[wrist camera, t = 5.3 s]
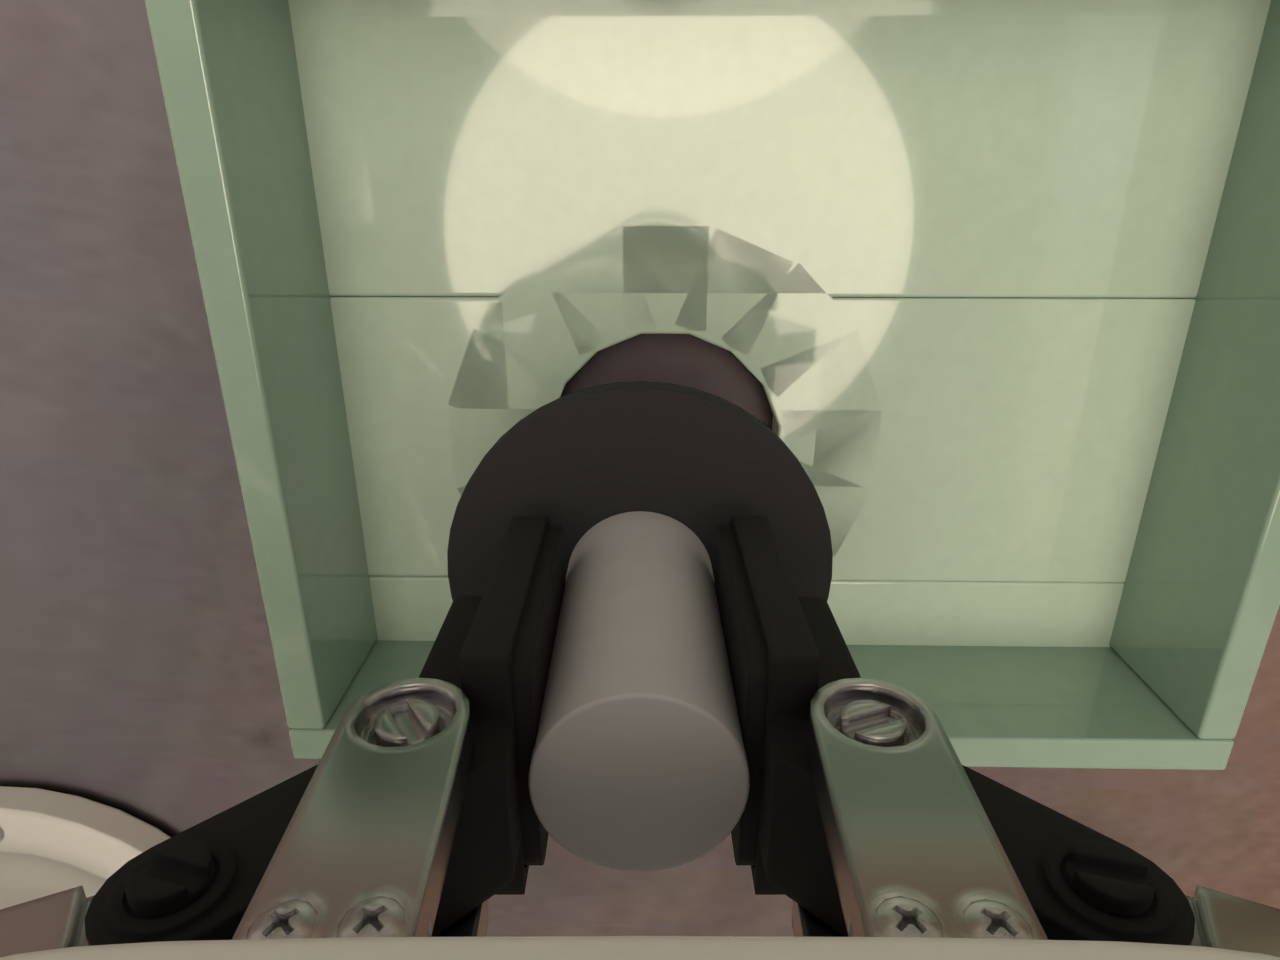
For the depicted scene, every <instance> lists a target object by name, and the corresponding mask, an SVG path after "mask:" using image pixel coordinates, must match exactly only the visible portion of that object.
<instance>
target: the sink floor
mask: <svg viewBox="0 0 1280 960" xmlns="http://www.w3.org/2000/svg"><path fill="white" fill-rule="evenodd" d="M1270 2H1271V0H288V3H289V10H290V17H291V24H292V31H293V39H294V46H295V53H296V60H297V67H298V74H299V81H300V88H301V96H302V103H303V110H304V117H305V124H306V131H307V138H308V145H309V153H310V160H311V167H312V174H313V181H314V188H315V195H316V202H317V210H318V217H319V224H320V231H321V238H322V245H323V252H324V259H325V266H326V274H327V281H328V288H329V294H330V296H331V298H330V302H331V309H332V316H333V323H334V331H335V338H336V345H337V352H338V359H339V366H340V373H341V380H342V388H343V395H344V402H345V409H346V416H347V423H348V430H349V437H350V445H351V452H352V459H353V466H354V473H355V480H356V487H357V494H358V502H359V509H360V516H361V523H362V530H363V537H364V544H365V551H366V559H367V566H368V573H369V576H370V587H371V594H372V601H373V608H374V616H375V623H376V630H377V637H378V638H377V640H399V641H435V640H436V638H437V636H438V633H439V631H440V629H441V627H442V625H443V622H444V620H445V618H446V616H447V613H448V611H449V609H450V607H451V605H452V602H453V600H452V597H451V591H450V585H449V579H448V561H447V550H448V543H449V535H450V528H451V525H452V521H453V518H454V514H455V511H456V507H457V505H458V502H459V500H460V498H461V496H462V493H463V491H464V489H465V487H466V485H467V483H468V481H469V479H470V478H471V476H472V474H473V473H474V471H475V470H476V468H477V467H478V465H479V464H480V462H481V460H482V459H483V457H484V456H485V455H486V453H487V452H488V451H489V450H490V449H491V448H492V446H493V445H494V444H495V443H496V442H497V441H498V440H499V438H500V437H501V436H503V435H504V434H505V433H506V432H507V431H508V430H509V429H511V428H512V427H513V426H514V425H515V424H516V423H517V422H519V421H520V420H521V419H523V418H524V417H526V416H528V415H529V414H531V413H532V412H534V411H535V410H537V409H538V408H540V407H542V406H544V405H546V404H548V403H550V402H552V401H554V400H556V399H558V398H560V397H561V395H562V392H563V390H564V387H565V385H566V383H567V382H568V381H569V380H570V379H571V378H572V377H573V376H574V375H575V374H576V373H577V372H578V371H579V370H580V369H581V368H582V367H583V366H584V365H585V364H586V363H587V362H588V361H589V360H590V359H591V358H592V357H593V356H594V355H595V354H596V353H597V352H598V351H601V350H603V349H606V348H608V347H610V346H613V345H615V344H618V343H620V342H623V341H625V340H627V339H630V338H632V337H635V336H637V335H640V334H689V335H692V336H694V337H697V338H699V339H701V340H704V341H706V342H708V343H711V344H713V345H716V346H718V347H720V348H723V349H725V350H727V351H730V352H732V353H733V355H734V356H735V357H736V358H737V359H738V360H739V361H740V362H741V363H742V364H743V365H744V366H745V367H746V368H747V369H748V370H749V371H750V372H751V373H752V374H753V375H754V376H755V377H756V378H757V379H758V380H759V381H760V382H761V384H762V387H763V390H764V393H765V395H766V398H767V401H768V403H769V406H770V409H771V412H772V414H773V422H772V431H773V432H774V433H775V434H776V435H777V436H778V437H779V438H781V440H782V441H783V442H784V443H785V444H786V445H787V447H788V448H789V449H790V450H791V451H792V453H793V454H794V455H795V456H796V457H797V459H798V460H799V462H800V464H801V465H802V467H803V468H804V470H805V472H806V473H807V475H808V476H809V478H810V480H811V481H812V483H813V485H814V487H815V489H816V491H817V494H818V496H819V498H820V501H821V503H822V505H823V507H824V511H825V514H826V518H827V522H828V525H829V529H830V535H831V543H832V552H833V561H832V580H831V585H830V591H829V597H828V601H827V603H828V605H829V607H830V609H831V612H832V614H833V616H834V618H835V621H836V623H837V625H838V627H839V629H840V632H841V634H842V636H843V638H844V641H845V643H846V645H927V646H1033V647H1110V645H1109V643H1110V639H1111V635H1112V631H1113V627H1114V623H1115V619H1116V615H1117V611H1118V607H1119V603H1120V599H1121V595H1122V591H1123V587H1124V584H1123V582H1125V579H1126V575H1127V571H1128V567H1129V563H1130V559H1131V555H1132V551H1133V547H1134V543H1135V539H1136V535H1137V531H1138V527H1139V523H1140V519H1141V515H1142V511H1143V508H1144V504H1145V500H1146V496H1147V492H1148V488H1149V484H1150V480H1151V476H1152V472H1153V468H1154V464H1155V460H1156V456H1157V452H1158V448H1159V444H1160V440H1161V436H1162V432H1163V428H1164V424H1165V420H1166V416H1167V412H1168V408H1169V404H1170V400H1171V396H1172V392H1173V388H1174V384H1175V380H1176V376H1177V372H1178V368H1179V364H1180V360H1181V356H1182V352H1183V348H1184V344H1185V340H1186V337H1187V333H1188V329H1189V325H1190V321H1191V317H1192V313H1193V309H1194V305H1195V299H1194V298H1195V297H1196V295H1197V293H1198V289H1199V285H1200V281H1201V277H1202V273H1203V269H1204V265H1205V261H1206V257H1207V253H1208V249H1209V245H1210V241H1211V237H1212V233H1213V229H1214V225H1215V221H1216V217H1217V213H1218V209H1219V205H1220V201H1221V197H1222V193H1223V189H1224V185H1225V181H1226V177H1227V173H1228V169H1229V166H1230V162H1231V158H1232V154H1233V150H1234V146H1235V142H1236V138H1237V134H1238V130H1239V126H1240V122H1241V118H1242V114H1243V110H1244V106H1245V102H1246V98H1247V94H1248V90H1249V86H1250V82H1251V78H1252V74H1253V70H1254V66H1255V62H1256V58H1257V54H1258V50H1259V46H1260V42H1261V38H1262V34H1263V30H1264V26H1265V22H1266V18H1267V14H1268V10H1269V6H1270Z"/></svg>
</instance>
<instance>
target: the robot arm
mask: <svg viewBox="0 0 1280 960" xmlns="http://www.w3.org/2000/svg"><path fill="white" fill-rule="evenodd" d="M714 585H715V590H716V596H717V601H718V606H719V612H720V617H721V623H722V628H723V634H724V639H725V645H726V650H727V655H728V661H729V666H730V672H731V677H732V683H733V688H734V694H735V699H736V704H737V710H738V715H739V721H740V726H741V732H742V737H743V743H744V748H745V751H746V756H747V762H748V767H749V773H750V789H749V796H748V800H747V803H746V806H745V809H744V811H743V813H742V815H741V817H740V819H739V821H738V823H737V824H736V826H735V827H734V829H733V830H732V831H731V835H732V842H733V849H734V856H735V862H736V865H751V869H752V876H753V882H754V888H755V894H785V895H787V896H788V897H790V898H791V899H792V900H793V905H792V926H793V932H794V937H772V936H509V937H486V932H487V926H488V905H487V899H489V898H490V897H491V896H493V895H494V894H524V893H525V886H526V880H527V874H528V868H529V865H543V864H544V860H545V854H546V847H547V840H548V832H547V831H546V829H545V828H544V826H543V825H542V824H541V822H540V821H539V819H538V817H537V815H536V812H535V810H534V808H533V805H532V802H531V798H530V794H529V787H528V775H529V768H530V763H531V758H532V753H533V749H534V747H535V742H536V737H537V731H538V726H539V721H540V715H541V710H542V705H543V700H544V694H545V689H546V684H547V678H548V673H549V668H550V662H551V657H552V652H553V647H554V641H555V636H556V631H557V625H558V620H559V615H560V609H561V604H562V599H563V594H564V588H565V560H564V534H563V526H562V525H551V524H550V518H549V516H513V518H512V520H511V523H510V525H509V528H508V531H507V533H506V536H505V538H504V541H503V544H502V546H501V549H500V551H499V554H498V557H497V559H496V562H495V564H494V567H493V570H492V572H491V575H490V577H489V580H488V583H487V585H486V588H485V590H484V593H483V596H456V597H455V599H454V600H453V602H452V605H451V607H450V609H449V611H448V613H447V616H446V618H445V620H444V622H443V625H442V627H441V629H440V631H439V633H438V636H437V638H436V640H435V642H434V644H433V647H432V649H431V651H430V653H429V656H428V658H427V660H426V662H425V664H424V667H423V669H422V671H421V673H420V676H419V678H414V679H405V680H399V681H395V682H392V683H388V684H385V685H382V686H380V687H377V688H375V689H373V690H371V691H369V692H367V693H365V694H364V695H362V696H361V697H360V698H359V699H357V700H356V701H355V702H353V703H352V704H351V705H350V706H349V708H348V709H347V710H346V712H345V713H344V714H343V716H342V718H341V720H340V722H339V724H338V726H337V728H336V730H335V732H334V734H333V736H332V738H331V740H330V742H329V744H328V746H327V748H326V750H325V752H324V754H323V756H322V758H321V760H320V762H319V764H318V765H316V766H314V767H312V768H310V769H308V770H306V771H304V772H302V773H300V774H298V775H296V776H294V777H292V778H290V779H288V780H286V781H284V782H282V783H280V784H278V785H276V786H274V787H272V788H270V789H268V790H266V791H264V792H262V793H260V794H258V795H256V796H254V797H252V798H250V799H248V800H246V801H244V802H242V803H240V804H238V805H236V806H234V807H232V808H230V809H228V810H226V811H224V812H221V813H219V814H217V815H215V816H213V817H211V818H209V819H207V820H205V821H203V822H201V823H199V824H197V825H195V826H193V827H191V828H189V829H187V830H185V831H183V832H181V833H179V834H177V835H175V836H173V837H170V836H168V835H167V834H165V833H164V832H163V831H161V830H160V829H158V828H156V827H154V826H152V825H150V824H148V823H146V822H144V821H142V820H140V819H138V818H136V817H134V816H132V815H130V814H128V813H126V812H124V811H122V810H119V809H116V808H114V807H111V806H108V805H105V804H102V803H99V802H96V801H93V800H90V799H87V798H84V797H81V796H76V795H71V794H66V793H61V792H56V791H51V790H45V789H40V788H26V787H6V786H0V960H1280V909H1276V908H1273V907H1269V906H1266V905H1263V904H1259V903H1256V902H1253V901H1249V900H1246V899H1242V898H1239V897H1236V896H1232V895H1229V894H1225V893H1222V892H1219V891H1215V890H1212V889H1209V888H1205V887H1202V886H1198V885H1197V888H1196V891H1195V894H1194V897H1193V898H1192V897H1189V896H1186V895H1184V893H1183V892H1182V891H1181V889H1180V888H1179V887H1178V886H1177V884H1176V883H1175V882H1174V880H1173V879H1172V878H1171V877H1169V876H1168V875H1167V874H1166V873H1165V872H1164V871H1162V870H1161V869H1160V868H1159V867H1158V866H1157V865H1156V864H1154V863H1153V862H1152V861H1150V860H1149V859H1147V858H1145V857H1144V856H1142V855H1140V854H1139V853H1137V852H1135V851H1134V850H1132V849H1130V848H1129V847H1127V846H1125V845H1123V844H1121V843H1119V842H1117V841H1115V840H1113V839H1111V838H1109V837H1107V836H1105V835H1103V834H1101V833H1098V832H1096V831H1094V830H1092V829H1090V828H1088V827H1086V826H1084V825H1082V824H1080V823H1078V822H1076V821H1074V820H1072V819H1070V818H1068V817H1066V816H1064V815H1062V814H1060V813H1058V812H1056V811H1054V810H1052V809H1050V808H1048V807H1046V806H1044V805H1042V804H1040V803H1038V802H1036V801H1034V800H1032V799H1030V798H1028V797H1026V796H1024V795H1022V794H1020V793H1018V792H1016V791H1014V790H1012V789H1010V788H1008V787H1006V786H1004V785H1002V784H1000V783H998V782H996V781H994V780H992V779H990V778H988V777H986V776H984V775H982V774H980V773H978V772H976V771H974V770H972V769H970V768H968V767H966V766H964V765H962V764H961V762H960V760H959V758H958V756H957V754H956V752H955V750H954V748H953V746H952V744H951V742H950V740H949V738H948V736H947V734H946V732H945V730H944V728H943V726H942V724H941V722H940V720H939V718H938V716H937V714H936V713H935V712H934V710H933V709H932V708H931V706H930V705H929V704H928V703H927V702H925V701H924V700H923V699H921V698H920V697H919V696H918V695H916V694H915V693H913V692H911V691H909V690H907V689H905V688H903V687H900V686H898V685H895V684H892V683H888V682H885V681H881V680H875V679H866V678H861V676H860V674H859V672H858V669H857V667H856V665H855V663H854V661H853V658H852V656H851V654H850V652H849V649H848V647H847V645H846V643H845V641H844V638H843V636H842V634H841V632H840V629H839V627H838V625H837V623H836V621H835V618H834V616H833V614H832V612H831V609H830V607H829V605H828V603H827V601H826V599H825V598H824V596H797V594H796V591H795V588H794V586H793V583H792V581H791V578H790V575H789V573H788V570H787V568H786V565H785V562H784V560H783V557H782V555H781V552H780V549H779V547H778V544H777V542H776V539H775V536H774V534H773V531H772V529H771V526H770V523H769V521H768V518H767V516H731V517H730V522H729V525H717V531H716V555H715V582H714Z"/></svg>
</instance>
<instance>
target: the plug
mask: <svg viewBox="0 0 1280 960" xmlns="http://www.w3.org/2000/svg"><path fill="white" fill-rule="evenodd" d="M513 516H549V518H550V524H551V525H562V526H563V534H564V560H565V588H564V594H563V599H562V604H561V609H560V615H559V620H558V625H557V631H556V636H555V641H554V647H553V652H552V657H551V662H550V668H549V673H548V678H547V684H546V689H545V694H544V700H543V705H542V710H541V715H540V721H539V726H538V731H537V737H536V742H535V747H534V749H533V753H532V758H531V763H530V768H529V775H528V787H529V794H530V798H531V802H532V805H533V808H534V810H535V812H536V815H537V817H538V819H539V821H540V822H541V824H542V825H543V826H544V828H545V829H546V831H547V832H548V833H549V834H550V835H551V836H552V837H553V839H554V840H556V841H557V842H558V843H559V844H560V845H561V846H563V847H564V848H565V849H567V850H568V851H570V852H571V853H573V854H574V855H576V856H578V857H580V858H582V859H584V860H586V861H589V862H591V863H594V864H597V865H600V866H603V867H607V868H611V869H617V870H624V871H655V870H662V869H667V868H671V867H675V866H679V865H682V864H685V863H687V862H690V861H692V860H694V859H696V858H698V857H700V856H702V855H704V854H706V853H707V852H709V851H710V850H712V849H713V848H715V847H716V846H717V845H718V844H719V843H721V842H722V841H723V840H724V839H725V838H726V837H727V836H728V835H729V834H730V832H731V831H732V830H733V829H734V827H735V826H736V824H737V823H738V821H739V819H740V817H741V815H742V813H743V811H744V809H745V806H746V803H747V800H748V796H749V789H750V773H749V767H748V762H747V756H746V751H745V748H744V743H743V737H742V732H741V726H740V721H739V715H738V710H737V704H736V699H735V694H734V688H733V683H732V677H731V672H730V666H729V661H728V655H727V650H726V645H725V639H724V634H723V628H722V623H721V617H720V612H719V606H718V601H717V596H716V590H715V585H714V582H715V555H716V531H717V525H729V522H730V517H731V516H767V518H768V521H769V523H770V526H771V529H772V531H773V534H774V536H775V539H776V542H777V544H778V547H779V549H780V552H781V555H782V557H783V560H784V562H785V565H786V568H787V570H788V573H789V575H790V578H791V581H792V583H793V586H794V588H795V591H796V594H797V596H824V598H825V599H826V601H828V597H829V591H830V585H831V580H832V561H833V552H832V543H831V535H830V529H829V525H828V522H827V518H826V514H825V511H824V507H823V505H822V503H821V501H820V498H819V496H818V494H817V491H816V489H815V487H814V485H813V483H812V481H811V480H810V478H809V476H808V475H807V473H806V472H805V470H804V468H803V467H802V465H801V464H800V462H799V460H798V459H797V457H796V456H795V455H794V454H793V453H792V451H791V450H790V449H789V448H788V447H787V445H786V444H785V443H784V442H783V441H782V440H781V438H779V437H778V436H777V435H776V434H775V433H774V432H773V431H772V430H770V429H769V428H768V427H767V426H766V425H765V424H764V423H763V422H761V421H760V420H758V419H757V418H755V417H754V416H752V415H751V414H749V413H748V412H746V411H745V410H743V409H742V408H740V407H738V406H736V405H734V404H732V403H730V402H728V401H726V400H724V399H722V398H720V397H718V396H715V395H712V394H709V393H706V392H703V391H700V390H697V389H694V388H689V387H684V386H679V385H674V384H669V383H658V382H644V381H637V382H621V383H611V384H606V385H600V386H595V387H590V388H586V389H583V390H580V391H577V392H574V393H571V394H568V395H565V396H562V397H560V398H558V399H556V400H554V401H552V402H550V403H548V404H546V405H544V406H542V407H540V408H538V409H537V410H535V411H534V412H532V413H531V414H529V415H528V416H526V417H524V418H523V419H521V420H520V421H519V422H517V423H516V424H515V425H514V426H513V427H512V428H511V429H509V430H508V431H507V432H506V433H505V434H504V435H503V436H501V437H500V438H499V440H498V441H497V442H496V443H495V444H494V445H493V446H492V448H491V449H490V450H489V451H488V452H487V453H486V455H485V456H484V457H483V459H482V460H481V462H480V464H479V465H478V467H477V468H476V470H475V471H474V473H473V474H472V476H471V478H470V479H469V481H468V483H467V485H466V487H465V489H464V491H463V493H462V496H461V498H460V500H459V502H458V505H457V507H456V511H455V514H454V518H453V521H452V525H451V528H450V535H449V543H448V550H447V561H448V579H449V585H450V591H451V597H452V600H454V599H455V597H456V596H483V593H484V590H485V588H486V585H487V583H488V580H489V577H490V575H491V572H492V570H493V567H494V564H495V562H496V559H497V557H498V554H499V551H500V549H501V546H502V544H503V541H504V538H505V536H506V533H507V531H508V528H509V525H510V523H511V520H512V518H513Z"/></svg>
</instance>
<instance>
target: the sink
mask: <svg viewBox="0 0 1280 960" xmlns="http://www.w3.org/2000/svg"><path fill="white" fill-rule="evenodd" d="M144 1H145V6H146V11H147V16H148V21H149V26H150V31H151V36H152V41H153V47H154V52H155V57H156V62H157V67H158V72H159V77H160V82H161V87H162V92H163V97H164V102H165V107H166V112H167V117H168V122H169V127H170V133H171V138H172V143H173V148H174V153H175V158H176V163H177V168H178V173H179V178H180V183H181V188H182V193H183V198H184V203H185V208H186V213H187V218H188V224H189V229H190V234H191V239H192V244H193V249H194V254H195V259H196V264H197V269H198V274H199V279H200V284H201V289H202V294H203V299H204V304H205V310H206V315H207V320H208V325H209V330H210V335H211V340H212V345H213V350H214V355H215V360H216V365H217V370H218V375H219V380H220V385H221V390H222V396H223V401H224V406H225V411H226V416H227V421H228V426H229V431H230V436H231V441H232V446H233V451H234V456H235V461H236V466H237V471H238V476H239V482H240V487H241V492H242V497H243V502H244V507H245V512H246V517H247V522H248V527H249V532H250V537H251V542H252V547H253V552H254V557H255V562H256V567H257V573H258V578H259V583H260V588H261V593H262V598H263V603H264V608H265V613H266V618H267V623H268V628H269V633H270V638H271V643H272V648H273V653H274V659H275V664H276V669H277V674H278V679H279V684H280V689H281V694H282V699H283V704H284V709H285V714H286V719H287V724H288V727H289V728H290V730H289V735H290V740H291V745H292V750H293V755H294V758H295V759H321V758H322V756H323V754H324V752H325V750H326V748H327V746H328V744H329V742H330V740H331V738H332V736H333V734H334V732H335V730H336V728H337V726H338V724H339V722H340V720H341V718H342V716H343V714H344V713H345V712H346V710H347V709H348V708H349V706H350V705H351V704H352V703H353V702H355V701H356V700H357V699H359V698H360V697H361V696H362V695H364V694H365V693H367V692H369V691H371V690H373V689H375V688H377V687H380V686H382V685H385V684H388V683H392V682H395V681H399V680H405V679H414V678H419V676H420V673H421V671H422V669H423V667H424V664H425V662H426V660H427V658H428V656H429V653H430V651H431V649H432V647H433V644H434V642H435V641H399V640H377V638H378V637H377V630H376V623H375V616H374V608H373V601H372V594H371V587H370V576H369V573H368V566H367V559H366V551H365V544H364V537H363V530H362V523H361V516H360V509H359V502H358V494H357V487H356V480H355V473H354V466H353V459H352V452H351V445H350V437H349V430H348V423H347V416H346V409H345V402H344V395H343V388H342V380H341V373H340V366H339V359H338V352H337V345H336V338H335V331H334V323H333V316H332V309H331V302H330V298H331V296H330V294H329V288H328V281H327V274H326V266H325V259H324V252H323V245H322V238H321V231H320V224H319V217H318V210H317V202H316V195H315V188H314V181H313V174H312V167H311V160H310V153H309V145H308V138H307V131H306V124H305V117H304V110H303V103H302V96H301V88H300V81H299V74H298V67H297V60H296V53H295V46H294V39H293V31H292V24H291V17H290V10H289V3H288V0H144ZM1194 299H1195V305H1194V309H1193V313H1192V317H1191V321H1190V325H1189V329H1188V333H1187V337H1186V340H1185V344H1184V348H1183V352H1182V356H1181V360H1180V364H1179V368H1178V372H1177V376H1176V380H1175V384H1174V388H1173V392H1172V396H1171V400H1170V404H1169V408H1168V412H1167V416H1166V420H1165V424H1164V428H1163V432H1162V436H1161V440H1160V444H1159V448H1158V452H1157V456H1156V460H1155V464H1154V468H1153V472H1152V476H1151V480H1150V484H1149V488H1148V492H1147V496H1146V500H1145V504H1144V508H1143V511H1142V515H1141V519H1140V523H1139V527H1138V531H1137V535H1136V539H1135V543H1134V547H1133V551H1132V555H1131V559H1130V563H1129V567H1128V571H1127V575H1126V579H1125V582H1123V584H1124V587H1123V591H1122V595H1121V599H1120V603H1119V607H1118V611H1117V615H1116V619H1115V623H1114V627H1113V631H1112V635H1111V639H1110V643H1109V645H1110V647H1033V646H927V645H847V647H848V649H849V652H850V654H851V656H852V658H853V661H854V663H855V665H856V667H857V669H858V672H859V674H860V676H861V678H866V679H875V680H881V681H885V682H888V683H892V684H895V685H898V686H900V687H903V688H905V689H907V690H909V691H911V692H913V693H915V694H916V695H918V696H919V697H920V698H921V699H923V700H924V701H925V702H927V703H928V704H929V705H930V706H931V708H932V709H933V710H934V712H935V713H936V714H937V716H938V718H939V720H940V722H941V724H942V726H943V728H944V730H945V732H946V734H947V736H948V738H949V740H950V742H951V744H952V746H953V748H954V750H955V752H956V754H957V756H958V758H959V760H960V762H961V764H962V765H964V766H966V767H998V768H1082V769H1166V770H1224V769H1225V768H1226V766H1227V763H1228V760H1229V757H1230V754H1231V751H1232V748H1233V745H1234V741H1233V739H1234V738H1235V737H1236V735H1237V732H1238V729H1239V726H1240V723H1241V720H1242V717H1243V714H1244V711H1245V708H1246V705H1247V702H1248V699H1249V696H1250V693H1251V690H1252V687H1253V684H1254V681H1255V678H1256V675H1257V672H1258V669H1259V666H1260V663H1261V660H1262V657H1263V654H1264V651H1265V648H1266V645H1267V643H1268V640H1269V637H1270V634H1271V631H1272V628H1273V625H1274V622H1275V619H1276V616H1277V613H1278V610H1279V607H1280V0H1271V2H1270V6H1269V10H1268V14H1267V18H1266V22H1265V26H1264V30H1263V34H1262V38H1261V42H1260V46H1259V50H1258V54H1257V58H1256V62H1255V66H1254V70H1253V74H1252V78H1251V82H1250V86H1249V90H1248V94H1247V98H1246V102H1245V106H1244V110H1243V114H1242V118H1241V122H1240V126H1239V130H1238V134H1237V138H1236V142H1235V146H1234V150H1233V154H1232V158H1231V162H1230V166H1229V169H1228V173H1227V177H1226V181H1225V185H1224V189H1223V193H1222V197H1221V201H1220V205H1219V209H1218V213H1217V217H1216V221H1215V225H1214V229H1213V233H1212V237H1211V241H1210V245H1209V249H1208V253H1207V257H1206V261H1205V265H1204V269H1203V273H1202V277H1201V281H1200V285H1199V289H1198V293H1197V295H1196V297H1195V298H1194Z"/></svg>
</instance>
